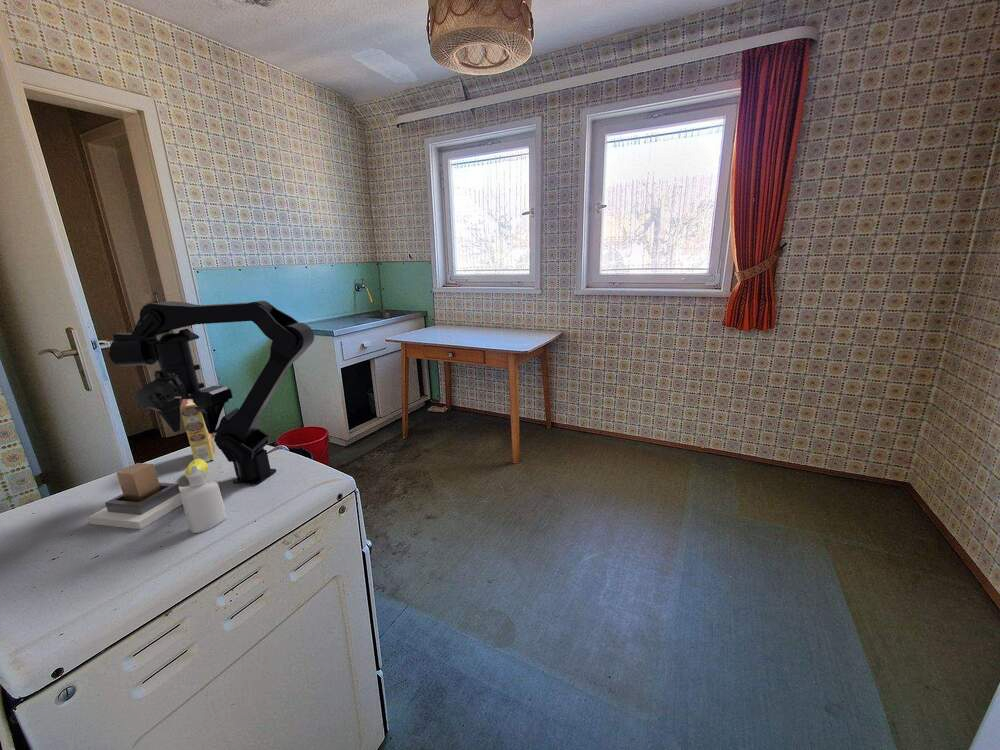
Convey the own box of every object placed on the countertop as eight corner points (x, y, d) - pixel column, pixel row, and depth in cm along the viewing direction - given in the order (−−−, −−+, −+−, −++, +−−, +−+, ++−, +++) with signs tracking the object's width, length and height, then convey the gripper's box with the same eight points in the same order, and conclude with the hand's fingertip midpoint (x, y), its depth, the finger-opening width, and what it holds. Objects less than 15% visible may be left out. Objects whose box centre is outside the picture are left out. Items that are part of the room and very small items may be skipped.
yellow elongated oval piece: (182, 486, 91) (178, 470, 90) (193, 470, 98) (189, 455, 97) (204, 482, 93) (200, 466, 92) (213, 467, 100) (209, 452, 99)
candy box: (214, 460, 103) (200, 403, 99) (194, 465, 101) (178, 407, 97) (215, 448, 110) (202, 394, 106) (196, 453, 108) (181, 397, 104)
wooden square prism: (165, 503, 84) (153, 464, 82) (145, 515, 81) (132, 474, 78) (149, 502, 85) (137, 462, 83) (129, 513, 81) (116, 472, 79)
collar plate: (198, 494, 87) (194, 479, 86) (140, 529, 76) (135, 512, 75) (152, 490, 90) (148, 476, 89) (90, 523, 78) (84, 507, 77)
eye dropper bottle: (192, 523, 77) (176, 466, 74) (227, 514, 80) (213, 458, 76) (188, 536, 73) (171, 476, 70) (225, 525, 76) (211, 467, 73)
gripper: (98, 372, 80) (121, 446, 84) (176, 373, 76) (196, 450, 80) (154, 359, 90) (172, 425, 94) (226, 359, 86) (241, 428, 91)
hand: (194, 432), depth 89 cm, fingers open, 9 cm apart
